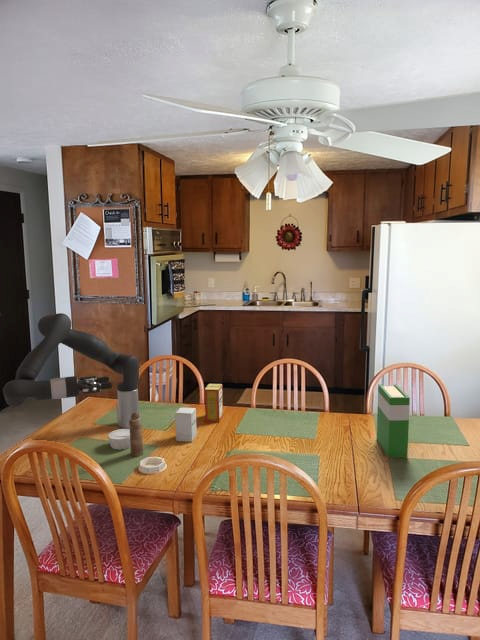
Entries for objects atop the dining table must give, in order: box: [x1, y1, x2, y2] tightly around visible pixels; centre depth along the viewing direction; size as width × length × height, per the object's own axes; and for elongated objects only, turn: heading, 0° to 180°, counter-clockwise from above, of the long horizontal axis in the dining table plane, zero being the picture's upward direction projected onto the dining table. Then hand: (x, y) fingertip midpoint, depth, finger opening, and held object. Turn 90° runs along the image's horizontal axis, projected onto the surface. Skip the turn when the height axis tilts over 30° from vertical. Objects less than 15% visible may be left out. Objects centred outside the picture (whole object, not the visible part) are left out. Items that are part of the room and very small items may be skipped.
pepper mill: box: [128, 412, 144, 458], centre depth 196 cm, size 5×5×18 cm
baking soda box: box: [204, 383, 224, 423], centre depth 237 cm, size 10×6×16 cm
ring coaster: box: [138, 456, 168, 475], centre depth 185 cm, size 10×10×3 cm
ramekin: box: [107, 428, 131, 451], centre depth 208 cm, size 11×11×5 cm
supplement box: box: [174, 407, 198, 443], centre depth 214 cm, size 7×7×13 cm
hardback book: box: [376, 383, 411, 458], centre depth 199 cm, size 18×7×24 cm, turn 179°
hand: (110, 382), depth 187 cm, fingers open, 8 cm apart
